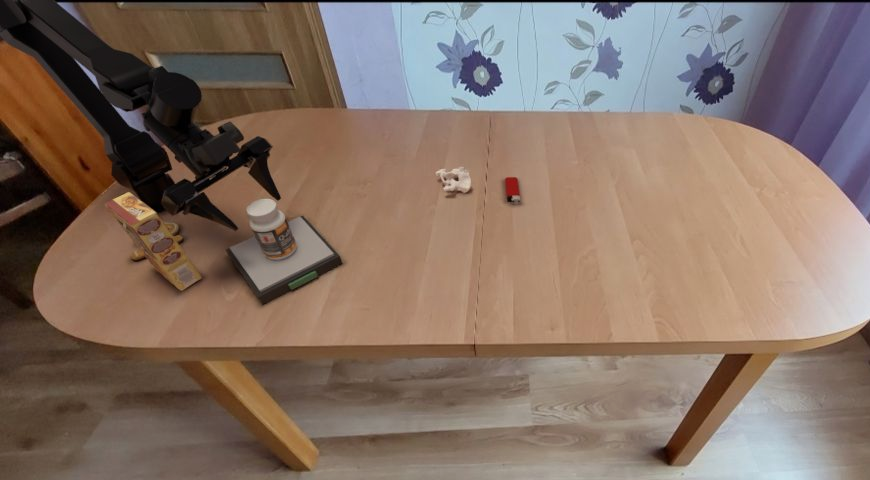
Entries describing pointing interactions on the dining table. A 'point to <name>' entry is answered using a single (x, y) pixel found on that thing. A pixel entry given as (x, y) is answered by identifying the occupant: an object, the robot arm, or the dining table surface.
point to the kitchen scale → (284, 262)
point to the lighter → (512, 190)
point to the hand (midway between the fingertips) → (259, 214)
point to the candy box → (153, 239)
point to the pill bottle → (271, 229)
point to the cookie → (174, 230)
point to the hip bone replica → (460, 185)
